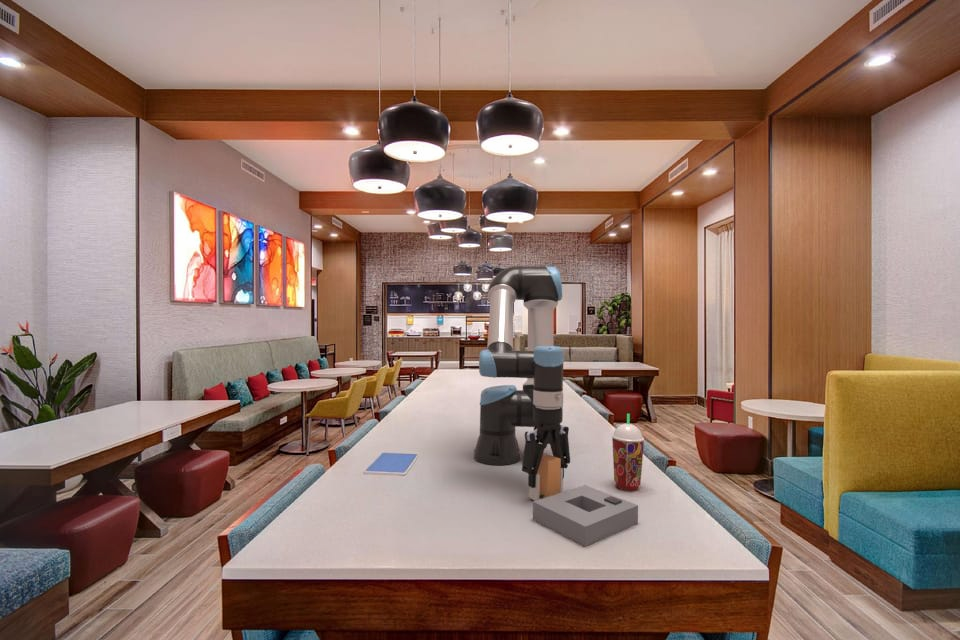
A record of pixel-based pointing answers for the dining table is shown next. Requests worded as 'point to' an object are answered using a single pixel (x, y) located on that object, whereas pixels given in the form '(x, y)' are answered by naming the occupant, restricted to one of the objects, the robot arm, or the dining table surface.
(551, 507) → the socket box
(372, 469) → the tablet computer
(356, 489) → the dining table surface
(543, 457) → the plug
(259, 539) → the dining table surface
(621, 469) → the smoothie
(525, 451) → the robot arm
